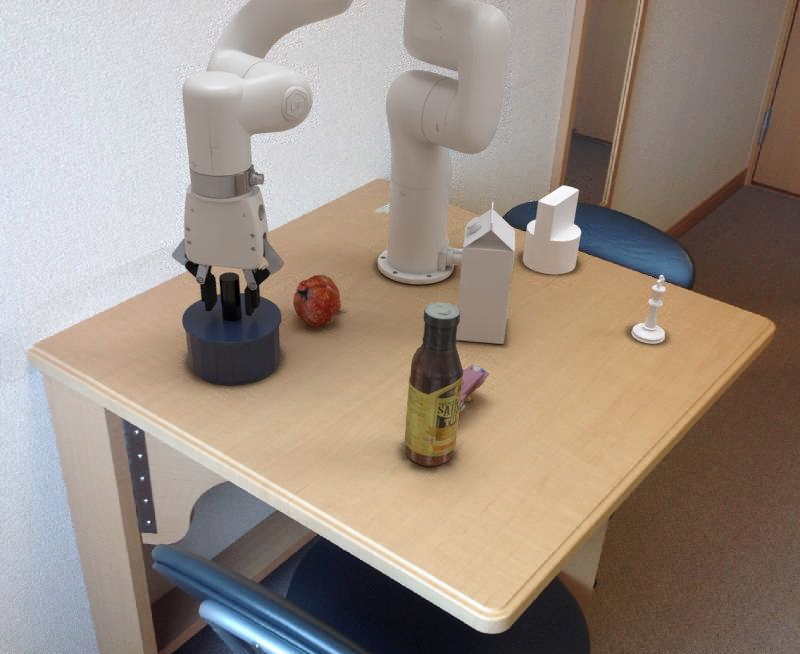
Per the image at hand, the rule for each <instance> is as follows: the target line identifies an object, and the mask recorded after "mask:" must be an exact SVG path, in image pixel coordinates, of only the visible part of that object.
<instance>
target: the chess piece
mask: <svg viewBox="0 0 800 654" xmlns="http://www.w3.org/2000/svg"><path fill="white" fill-rule="evenodd" d="M665 281H666V278H665V275H663V274H660V275H659V277H658V280H656V282H655V284H653V285H652V286H651V293H652V298H649V299H648V301H647V303H648V304H649V306H650V309H649V312H648V313H647V316H646V319H645V321H644V322H640V323H636V324H635V325H633V327H632V329H631V336H632V337H633V338H634V339H635V340H637V341H638V342H641V343H644V344H648V345H650V344H651V345H657V344H660V343H662V342H663V341H665V339H666V331H665V330H664V329H663V328H662V327H661V326H659V325H658V324H657V319H658V310H659V307H662V306H663V305H664V302H663V300H662V297H663V296H664V294H666V291H667V288H666V287H665V286H664V285H663V283H664V282H665Z"/></svg>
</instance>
